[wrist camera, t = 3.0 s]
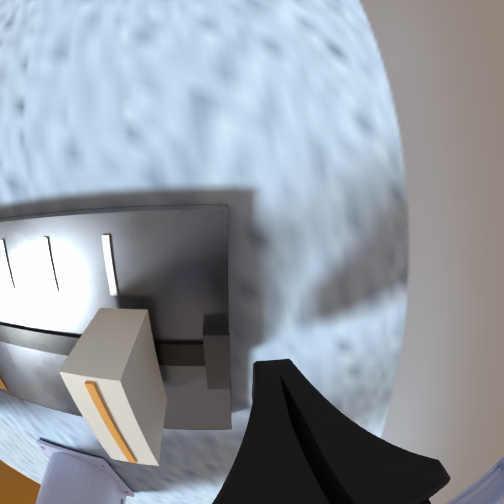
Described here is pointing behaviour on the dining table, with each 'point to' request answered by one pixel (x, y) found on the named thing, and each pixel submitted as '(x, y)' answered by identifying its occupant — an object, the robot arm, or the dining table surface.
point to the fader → (119, 384)
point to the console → (119, 300)
